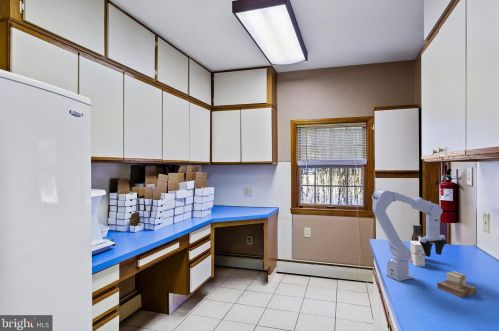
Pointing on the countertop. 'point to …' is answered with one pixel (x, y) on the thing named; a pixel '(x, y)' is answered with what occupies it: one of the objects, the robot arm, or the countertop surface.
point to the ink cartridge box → (417, 253)
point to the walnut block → (455, 291)
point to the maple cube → (456, 279)
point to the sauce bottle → (416, 232)
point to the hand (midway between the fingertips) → (433, 255)
